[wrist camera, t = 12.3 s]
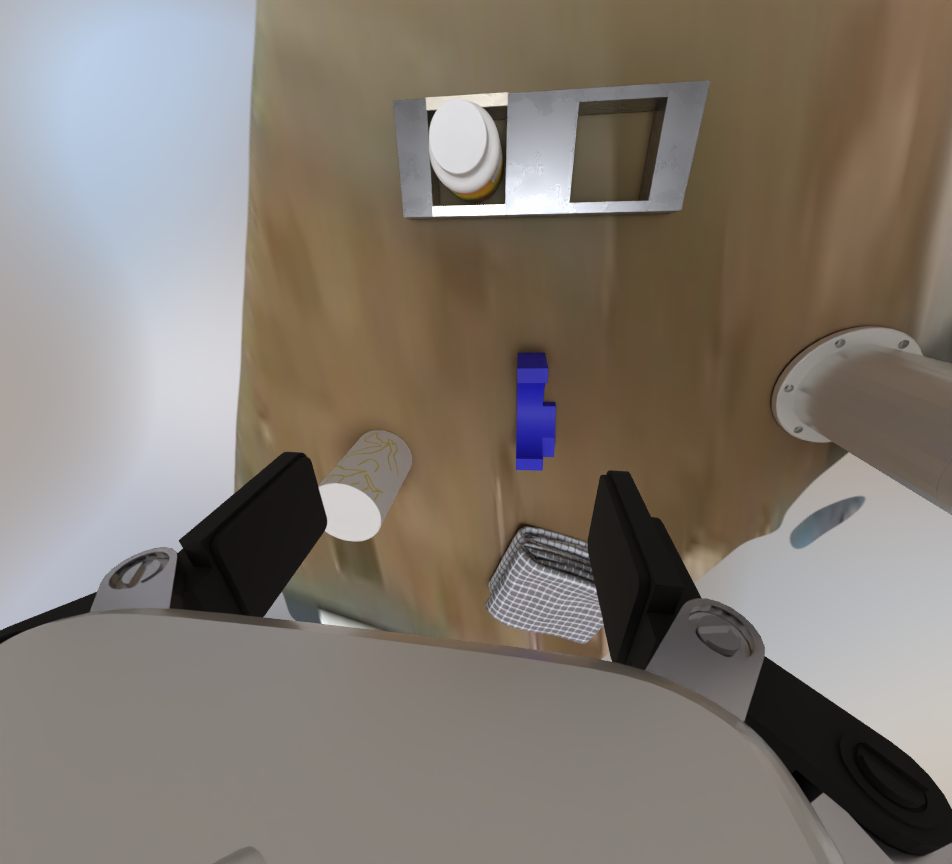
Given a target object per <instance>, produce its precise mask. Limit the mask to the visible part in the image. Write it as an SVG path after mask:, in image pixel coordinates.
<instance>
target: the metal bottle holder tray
mask: <svg viewBox="0 0 952 864" xmlns="http://www.w3.org/2000/svg"><path fill="white" fill-rule="evenodd" d="M709 84H710V81H694V82H679V83H663V84H647V85H632V86H616V87H600V88H585V89H569V90H553V91H538V92H522V93H508V92H506V93H490V94H474V95H459V96H443V97H428V98H426V99H413V100H397V101H393V106H394V117H395V127H396V138H397V149H398V159H399V170H400V181H401V192H402V202H403V213H404V217H405V218H408V219H411V220H433V219H475V218H517V217H558V216H600V215H642V214H669V213H673V212H677V211H681V208H682V204H683V200H684V195H685V191H686V186H687V182H688V177H689V173H690V169H691V164H692V160H693V155H694V151H695V146H696V142H697V138H698V133H699V129H700V124H701V120H702V115H703V111H704V107H705V102H706V98H707V93H708V89H709ZM456 98H459V99H465V100H467V101H469V102H473V103H476V104H478V105H479V106H481V107H482V108H483V109H485V110H486V111H487V112H488V113H489V115H490V116H491V118H492V119H493V120H503V119H507V150H506V192H505V204H503V205H467V206H440V205H439V186H438V177H437V175H436V173H435V171H434V169H433V167H432V164H431V161H430V155H429V129H430V124H431V121H432V118H433V116H434V114H435V112H436V111H437V109H438V108H439V107H440V106H441V105H442V104H443V103H445V102H446V101H449V100H451V99H456ZM647 111H654V117H653V123H652V128H651V134H650V140H649V145H648V151H647V157H646V162H645V168H644V174H643V180H642V185H641V191H640V197H639V201H620V202H584V203H569V201H570V191H571V181H572V170H573V160H574V150H575V139H576V129H577V119H578V115H593V114H611V113H629V112H647Z"/></svg>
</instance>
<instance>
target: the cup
mask: <svg viewBox="0 0 952 864" xmlns="http://www.w3.org/2000/svg"><path fill="white" fill-rule="evenodd" d="M411 466H412V454H411V451H410V449H409V447H408V446H407V444H406V443H405V442H404V441H403V440H402V439H401V438H400V437H398V436H397V435H395V434H393V433H391V432H388V431H383V430H374V431H370V432H367V433H365V434H364V435H362V436H361V437H360V439H359V440H358V441H357V442H356V443H355V444H354V445H353V447H352V448H351V449H350V450H349V451H348V452H347V453H346V455H345V456H344V457H343V458H342V459H341V460H340V462H339V463H338V464H337V465H336V466H335V467H334V468H333V470H332V471H331V472H330V473H329V474H328V475H327V476H326V478H325V479H324V480H323V481H322V482H321V483H320V485H319V486H318V487H319V491H320V495H321V498H322V502H323V505H324V509H325V513H326V516H327V527H326V529H325V531H326V532H327V533H329V534H331V535H332V536H334V537H337V538H339V539H343V540H347V541H363V540H367V539H369V538H371V537H373V536H374V535H375V534H376V533H377V532H378V530H379V528H380V527H381V525H382V523H383V521H384V519H385V517H386V515H387V513H388V511H389V509H390V507H391V505H392V503H393V501H394V499H395V497H396V495H397V494H398V492H399V490H400V488H401V486H402V484H403V482H404V480H405V478H406V476H407V474H408V472H409V470H410V468H411Z"/></svg>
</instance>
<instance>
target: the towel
mask: <svg viewBox="0 0 952 864" xmlns="http://www.w3.org/2000/svg"><path fill="white" fill-rule="evenodd" d="M587 544H588V542H585V541H583V540H579V539H576V538H573V537H569V536H566V535H563V534H560V533H556V532H552V531H549V530H546V529H543V528H535V527H530V526H525V527H523V528H521V529H520V530H519V531H518V532H517V534H516V535H515V537H514V538H513V540H512V543H511V544H510V545H509V548H508V549H507V551H506V552H505V554H504V556H503V558H502V560H501V562H500V564H499V566H498V568H497V570H496V572H495V573H494V575H493V577H492V578H491V580H490V582H489V589H490V594H491V595H490V597H489V598H488V600H487V602H486V604H485V606H486V609H487V610H488V612H489V613H490V615H491V616H492V617H493V618H495V619H496V620H498V621H500V622H502V623H503V624H505V625H508V626H510V627H513V628H514V627H515V628H517V629H522V630H525V631H530V632H536V633H543V634H550V635H555V636H557V637H562V638H565V639H569V640H571V641H576V642H577V643H582V644H585V643H587V642H588V641H589V640H590V639H591V638H592V637H593V636H594V635H595V634H596V633H597V632H598V631H599V630H600V629H601V627H603V625H604V624H603V619H602V614H601V610H600V605H599V601H598V596H597V591H596V587H595V582H594V578H593V573H592V568H591V564H590V559H589V555H588V547H587Z"/></svg>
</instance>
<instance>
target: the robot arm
mask: <svg viewBox="0 0 952 864" xmlns="http://www.w3.org/2000/svg"><path fill="white" fill-rule="evenodd" d="M772 412H773V416H774V418H775V420H776V421H777V423H778V424H779V425H780V426H781V427H782V428H783V429H784V430H785V431H786V432H788V433H789V434H791V435H792V436H794V437H797V438H799V439H801V440H805V441H810V442H820V443H827V442H834V443H835V444H837V445H839V446H840V447H842V448H843V449H845V450H847V451H848V452H850V453H852V454H853V455H855V456H857V457H858V458H860V459H861V460H863V461H865V462H866V463H868V464H869V465H871V466H873V467H874V468H876V469H878V470H879V471H881V472H882V473H884V474H886V475H887V476H889V477H891V478H892V479H894V480H895V481H897V482H899V483H900V484H902V485H904V486H905V487H907V488H909V489H910V490H912V491H913V492H915V493H917V494H918V495H920V496H922V497H923V498H925V499H926V500H928V501H930V502H932V503H933V504H935V505H936V506H938V507H940V508H941V509H943V510H945V511H946V512H948V513H950V514H951V515H952V363H948V362H944V361H940V360H936V359H932V358H929V357H925V356H923V353H922V351H921V348H920V346H919V345H918V344H917V342H916V341H915V340H914V339H913V338H911V337H910V336H908V335H907V334H905V333H903V332H900V331H897V330H894V329H890V328H884V327H879V326H863V327H856V328H850V329H846V330H843V331H840V332H837V333H834V334H832V335H829V336H827V337H825V338H823V339H821V340H819V341H817V342H816V343H814V344H813V345H811V346H809V347H808V348H806V349H805V350H804V351H803V352H802V353H800V354H799V355H798V356H797V357H796V358H795V359H794V360H793V361H792V362H791V363H790V364H789V365H788V366H787V367H786V369H785V370H784V371H783V373H782V374H781V376H780V377H779V379H778V381H777V383H776V385H775V387H774V391H773V395H772ZM326 527H327V516H326V513H325V509H324V505H323V502H322V498H321V495H320V491H319V487H318V484H317V480H316V477H315V473H314V469H313V466H312V462H311V460H310V458H308V457H307V456H306V455H305V454H304V453H298V452H284V453H282V454H281V455H280V456H279V457H277V458H276V459H275V460H274V461H273V462H271V463H270V464H269V465H268V466H267V467H266V468H264V469H263V470H262V471H261V472H260V473H258V474H257V475H256V476H255V477H254V478H252V479H251V480H250V481H249V482H248V483H246V484H245V485H244V486H243V487H242V488H241V489H239V490H238V491H237V492H236V493H235V494H233V495H232V496H231V497H230V498H229V499H227V500H226V501H225V502H224V503H223V504H221V505H220V506H219V507H218V508H217V509H216V510H214V511H213V512H212V513H211V514H210V515H209V516H207V517H206V518H205V519H204V520H203V521H201V522H200V523H199V524H198V525H197V526H195V527H194V528H193V529H192V530H191V531H190V532H188V533H187V534H186V535H185V536H183V537H182V538H181V539H180V540H179V542H180V544H181V545H182V547H183V549H182V550H181V551H180V552H179V553H177V552H176V551H175V550H173V549H172V548H167V547H161V548H154V549H150V550H146V551H144V552H141V553H138V554H136V555H134V556H132V557H130V558H128V559H126V560H124V561H123V562H121V563H120V564H118V565H117V566H116V567H114V568H113V569H112V570H111V571H110V572H109V573H108V574H107V575H106V576H105V577H104V579H103V580H102V582H101V584H100V586H99V589H98V591H97V592H95V593H93V594H90V595H88V596H85V597H83V598H80V599H78V600H75V601H72V602H70V603H68V604H65V605H62V606H60V607H57V608H55V609H52V610H50V611H47V612H45V613H42V614H40V615H37V616H34V617H32V618H29V619H27V620H24V621H22V622H19V623H17V624H14V625H12V626H9V627H7V628H5V629H3V630H0V864H952V809H951V807H950V805H949V803H948V801H947V799H946V798H945V796H944V794H943V793H942V791H941V790H940V789H939V788H938V786H937V785H936V784H935V782H934V781H933V780H932V778H931V777H930V776H929V775H928V774H927V773H926V772H925V771H924V770H923V769H922V768H921V767H920V766H919V765H918V764H917V763H916V762H915V761H914V760H913V759H912V758H911V757H910V756H909V755H907V754H906V753H905V752H903V751H902V750H901V749H899V748H898V747H897V746H896V745H894V744H893V743H892V742H890V741H889V740H887V739H886V738H885V737H883V736H882V735H880V734H878V733H877V732H876V731H874V730H873V729H871V728H870V727H868V726H867V725H865V724H864V723H862V722H861V721H860V720H858V719H856V718H855V717H854V716H852V715H851V714H849V713H848V712H846V711H845V710H843V709H842V708H840V707H839V706H837V705H836V704H835V703H833V702H831V701H830V700H828V699H827V698H826V697H824V696H823V695H821V694H820V693H818V692H817V691H815V690H814V689H812V688H811V687H809V686H808V685H806V684H805V683H803V682H802V681H801V680H799V679H798V678H796V677H795V676H793V675H792V674H790V673H789V672H787V671H786V670H784V669H783V668H781V667H780V666H779V665H777V664H776V663H774V662H773V661H771V660H770V659H768V658H767V657H765V656H764V654H765V647H764V644H763V641H762V639H761V636H760V635H759V633H758V632H757V631H756V629H755V628H754V626H753V625H752V624H751V623H750V622H749V621H748V620H747V619H746V618H745V617H743V616H742V615H741V614H739V613H738V612H737V611H735V610H734V609H732V608H731V607H729V606H727V605H724V604H722V603H720V602H717V601H714V600H710V599H702V598H701V596H700V594H699V592H698V590H697V588H696V586H695V584H694V583H693V581H692V579H691V577H690V575H689V573H688V571H687V569H686V567H685V565H684V563H683V561H682V559H681V557H680V555H679V553H678V552H677V550H676V548H675V546H674V544H673V542H672V540H671V538H670V536H669V534H668V532H667V530H666V528H665V526H664V524H663V523H662V521H661V520H660V519H659V518H655V517H651V516H650V514H649V512H648V510H647V508H646V506H645V503H644V501H643V499H642V497H641V495H640V493H639V491H638V489H637V487H636V485H635V483H634V481H633V479H632V477H631V475H630V473H629V472H626V471H608V472H607V474H606V475H601V476H600V480H599V485H598V490H597V495H596V500H595V505H594V511H593V516H592V521H591V526H590V531H589V536H588V544H587V547H588V555H589V559H590V564H591V568H592V573H593V578H594V582H595V587H596V591H597V596H598V601H599V605H600V610H601V614H602V619H603V624H604V628H605V633H606V637H607V642H608V647H609V651H610V656H611V659H612V662H609V661H604V660H599V659H593V658H588V657H583V656H575V655H568V654H561V653H554V652H547V651H540V650H532V649H525V648H518V647H510V646H502V645H494V644H485V643H477V642H469V641H461V640H453V639H444V638H436V637H428V636H420V635H411V634H403V633H394V632H386V631H377V630H369V629H360V628H351V627H343V626H334V625H325V624H317V623H308V622H299V621H289V620H281V619H271V618H263V617H264V616H265V614H266V613H267V611H268V610H269V609H270V607H271V606H272V604H273V603H274V601H275V600H276V599H277V597H278V596H279V594H280V593H281V592H282V590H283V589H284V587H285V586H286V585H287V583H288V582H289V580H290V579H291V578H292V576H293V575H294V573H295V572H296V571H297V569H298V568H299V566H300V565H301V563H302V562H303V561H304V559H305V558H306V556H307V555H308V554H309V552H310V551H311V549H312V548H313V547H314V545H315V544H316V542H317V541H318V539H319V538H320V537H321V535H322V534H323V532H324V531H325V529H326Z"/></svg>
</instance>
